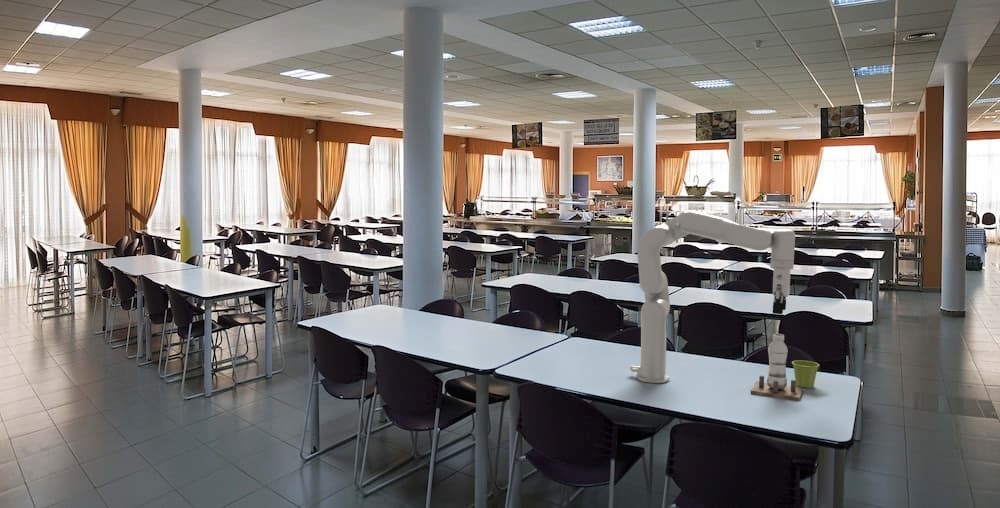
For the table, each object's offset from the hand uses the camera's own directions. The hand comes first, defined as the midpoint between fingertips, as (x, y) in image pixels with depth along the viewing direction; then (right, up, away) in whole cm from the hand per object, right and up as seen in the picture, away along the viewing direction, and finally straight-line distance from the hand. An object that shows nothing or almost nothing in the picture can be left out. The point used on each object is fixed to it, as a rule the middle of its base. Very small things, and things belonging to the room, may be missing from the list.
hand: (779, 311), depth 227 cm
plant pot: (+14, -29, +11) cm, 34 cm away
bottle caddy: (0, -30, +2) cm, 30 cm away
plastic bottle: (0, -29, +3) cm, 29 cm away
